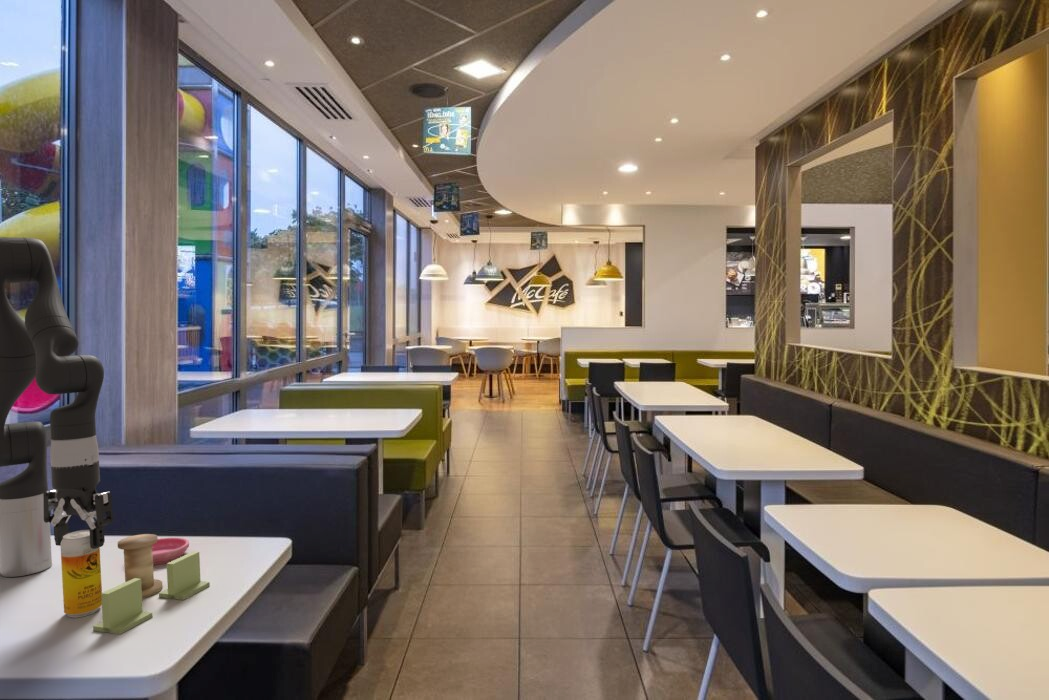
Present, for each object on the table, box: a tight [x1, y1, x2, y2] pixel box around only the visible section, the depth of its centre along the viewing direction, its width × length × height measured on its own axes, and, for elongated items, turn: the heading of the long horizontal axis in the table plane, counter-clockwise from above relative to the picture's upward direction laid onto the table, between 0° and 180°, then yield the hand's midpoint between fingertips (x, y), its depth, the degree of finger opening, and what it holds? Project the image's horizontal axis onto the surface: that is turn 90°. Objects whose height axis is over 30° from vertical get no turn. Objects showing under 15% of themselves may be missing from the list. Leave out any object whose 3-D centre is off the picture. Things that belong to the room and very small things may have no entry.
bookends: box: [92, 550, 211, 635], centre depth 126 cm, size 6×22×7 cm, turn 164°
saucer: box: [152, 537, 190, 566], centre depth 153 cm, size 12×12×3 cm
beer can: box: [60, 529, 103, 618], centre depth 124 cm, size 6×6×15 cm
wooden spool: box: [117, 533, 164, 599], centre depth 133 cm, size 8×8×11 cm
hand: (79, 545), depth 124 cm, fingers open, 8 cm apart
